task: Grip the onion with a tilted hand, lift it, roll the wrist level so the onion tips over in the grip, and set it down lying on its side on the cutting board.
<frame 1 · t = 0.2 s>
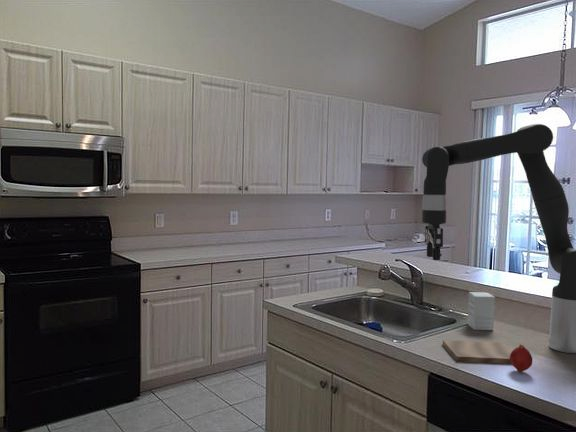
hand: (433, 258, 156), 28 cm above the worktop, tool pointing down, fingers open, 8 cm apart
supplement box: (479, 327, 179), on the worktop
onion: (520, 372, 136), on the worktop
cutting board: (481, 353, 150), on the worktop
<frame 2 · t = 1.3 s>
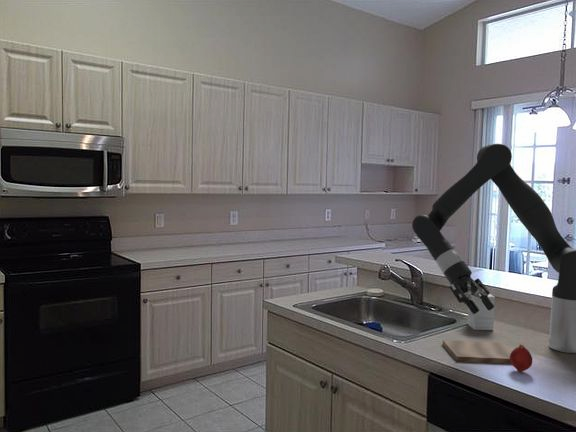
hand: (484, 310, 145), 15 cm above the worktop, tool tilted 45°, fingers open, 8 cm apart
nothing on the worktop moved.
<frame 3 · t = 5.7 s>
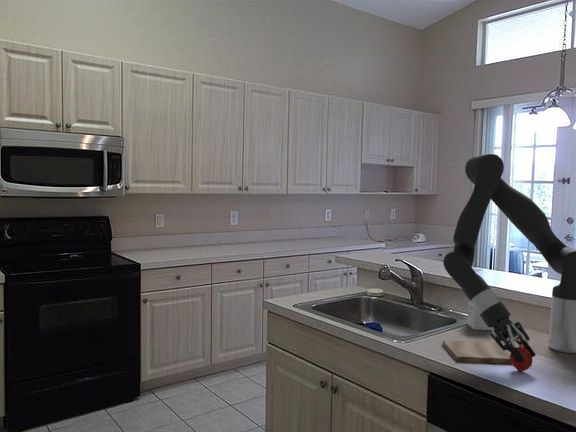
hand: (527, 358, 135), 4 cm above the worktop, tool tilted 45°, fingers closed on onion, 5 cm apart
onion: (520, 372, 136), on the worktop, touching gripper
everything else where it was.
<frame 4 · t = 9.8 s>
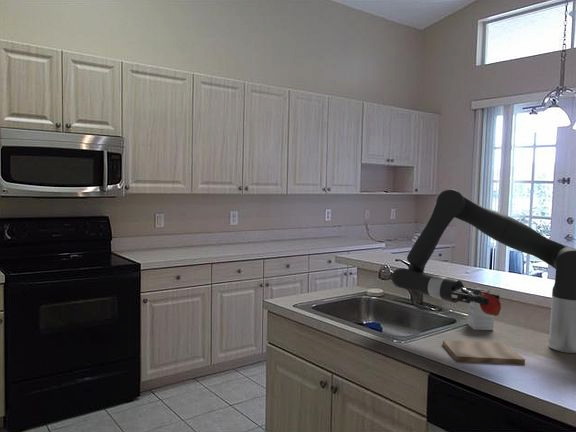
hand: (493, 300, 146), 18 cm above the worktop, tool horizontal, fingers closed on onion, 5 cm apart
onion: (498, 316, 145), point 13 cm above the worktop, touching gripper
everything else where it was.
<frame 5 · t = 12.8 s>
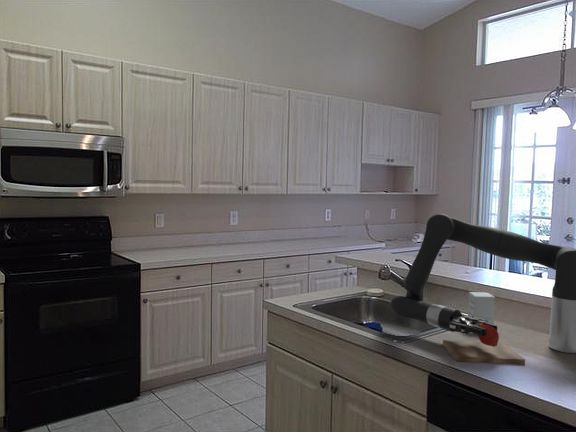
hand: (491, 331, 147), 8 cm above the worktop, tool horizontal, fingers closed on onion, 5 cm apart
onion: (496, 346, 146), point 4 cm above the worktop, touching gripper
everything else where it was.
when the fingers open (8 cm above the worktop, at t = 13.4 s): onion moves 4 cm, resting on cutting board.
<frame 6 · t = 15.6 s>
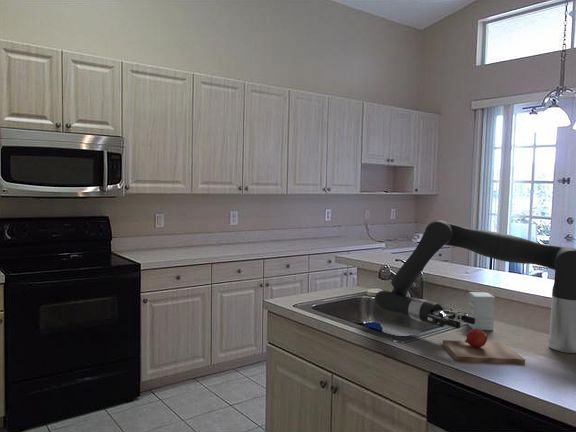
hand: (467, 323, 153), 9 cm above the worktop, tool horizontal, fingers open, 8 cm apart
onion: (487, 334, 149), point 6 cm above the worktop, touching cutting board
everything else where it was.
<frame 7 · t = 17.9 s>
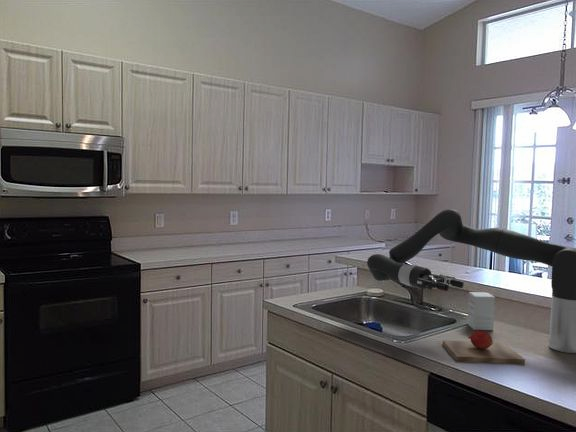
hand: (455, 286, 156), 20 cm above the worktop, tool horizontal, fingers open, 8 cm apart
onion: (493, 343, 147), point 4 cm above the worktop, touching cutting board
everything else where it was.
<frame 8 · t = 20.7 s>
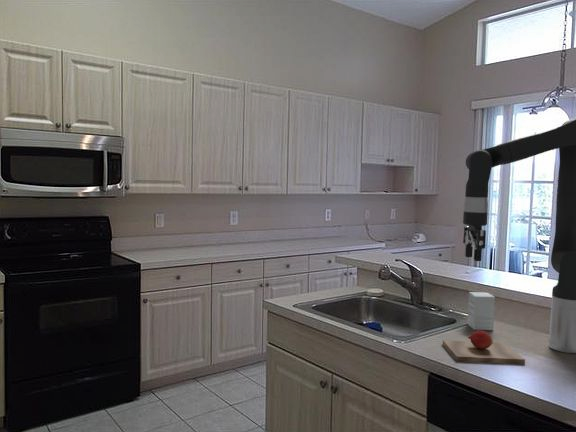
hand: (472, 259, 161), 28 cm above the worktop, tool pointing down, fingers open, 8 cm apart
nothing on the worktop moved.
at the end: onion tilted 92°; onion touching cutting board; the gripper is holding nothing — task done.
